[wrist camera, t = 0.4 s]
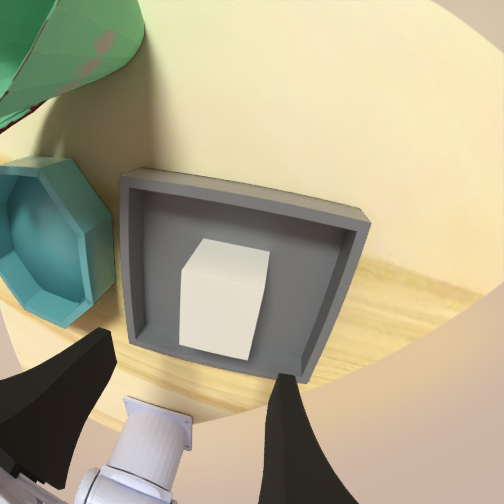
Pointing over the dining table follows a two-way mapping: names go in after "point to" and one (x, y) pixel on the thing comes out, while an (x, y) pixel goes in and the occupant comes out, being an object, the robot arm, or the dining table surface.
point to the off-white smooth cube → (222, 297)
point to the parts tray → (243, 234)
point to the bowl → (53, 238)
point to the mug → (61, 48)
